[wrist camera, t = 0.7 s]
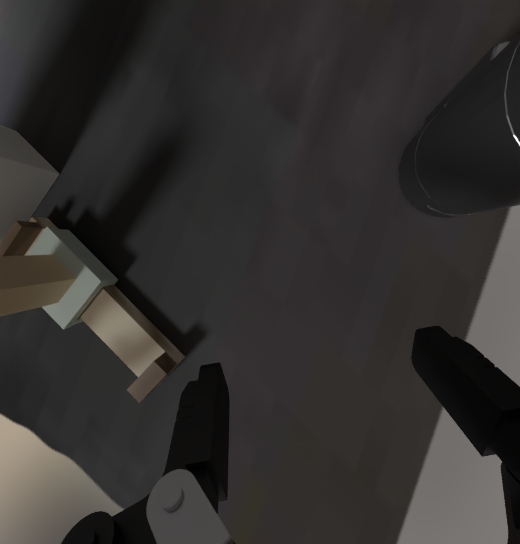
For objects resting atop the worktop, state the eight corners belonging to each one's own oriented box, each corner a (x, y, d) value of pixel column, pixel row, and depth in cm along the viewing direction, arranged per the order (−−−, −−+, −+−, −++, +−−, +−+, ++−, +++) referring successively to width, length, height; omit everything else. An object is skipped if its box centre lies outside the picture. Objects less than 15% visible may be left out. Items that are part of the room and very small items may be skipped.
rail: (28, 246, 35) (-12, 247, 30) (47, 218, 34) (9, 214, 29) (160, 382, 33) (139, 403, 29) (185, 356, 32) (166, 374, 28)
